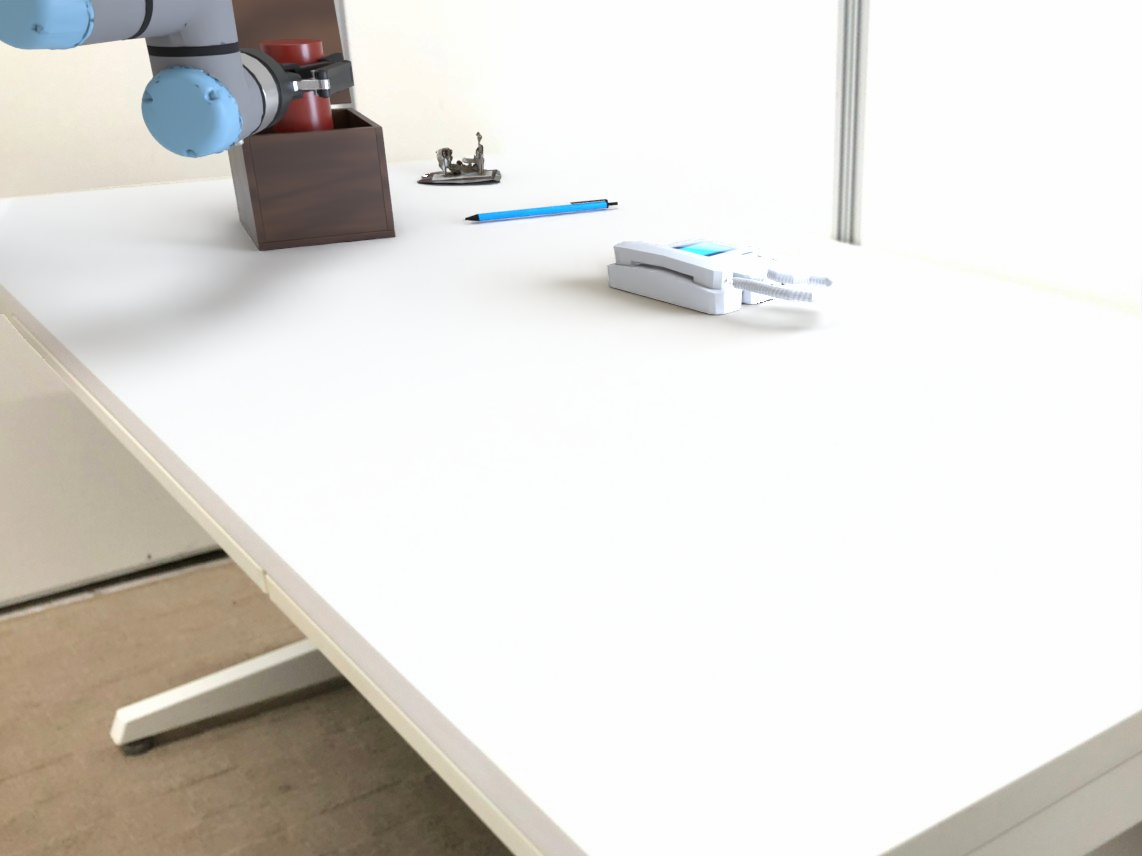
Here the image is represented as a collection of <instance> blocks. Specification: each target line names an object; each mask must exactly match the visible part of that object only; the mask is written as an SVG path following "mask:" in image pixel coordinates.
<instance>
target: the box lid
mask: <svg viewBox="0 0 1142 856" xmlns="http://www.w3.org/2000/svg"><path fill="white" fill-rule="evenodd" d="M232 6H233V12H234V18H235V25H236V31H237V37H238V44H239V48H252V49H256V50H259V51H260V46H259V43H260V42H263V41H270V40H282V39H316V40H321V41H322V47H323V54H324V57H326V56H329V55H331V54H334V53H342V57H343V60H345V55H344V50H343V44H342V39H341V33H340V27H339V21H338V17H337V16H338V15H337V11H336V6H335V0H232ZM352 103H353V101H352V97H351V91H350V87H349V88H346V89H344V90H341V91H340V93H338V92H337V93H333V94H331V97H330V104H331V106H337V105H338V106H340V105H351V104H352Z"/></svg>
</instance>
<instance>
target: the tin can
mask: <svg viewBox="0 0 1142 856" xmlns="http://www.w3.org/2000/svg"><path fill="white" fill-rule="evenodd" d="M259 46H260V51H262V52H264V53H266V54H267V55H269V56H270V57H272V58H273V59H274V60H275V61H276V62H277V63H281V64H283V63H297V64H299V66H302V65H307V64H312V63H318V62H319V59H321V58H324V54H323V47H322V41H321V40H316V39H282V40H270V41H263V42H260V43H259ZM331 109H332V105H331V104H330V97H328V98H322V97H319V96H314V92H313V91H309V92H305V93H304V96H303V98H301V99H297V100H292V101H291V102H290V105H289V108H288V110H287V112H286V114H285V115H284V117H283V118H282V119H281V120H280V121H279V122H277V123H276V124H274V125H272V127H273V131H274V132H277V133H287V132H302V131H316V130H330V129H333V128H334V126H333V119H332V111H331Z"/></svg>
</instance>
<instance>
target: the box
mask: <svg viewBox="0 0 1142 856" xmlns="http://www.w3.org/2000/svg"><path fill="white" fill-rule="evenodd" d="M331 111H332V119H333V126H334V128H333V129H330V130H316V131H302V132H287V133H277V132H274V131H273V127H272V126H270V127H268V128H266V129H264V130H262V131H259V132H257V133H255V134H253V135H251V136H249V137H247V138H246V139H243V140H244V143H243V144H242V145H235V144H234V146H232V147H231V148H230V149H228V150H227V155H228V161H229V166H230V172H231V179H232V184H233V190H234V196H235V201H236V208H237V213H238V219H239V222H240V223H241V225H242V226H243V228H244V229H245V231H246V232H247V233H248V235H249V237H250V238H251V240H252V241H253V243H254V245H255V246H256V247H257V249H258V251H270V250H280V249H288V248H298V247H299V248H300V247H309V246H317V245H319V246H320V245H327V244H338V243H346V242H357V241H366V240H376V239H386V238H395V237H396V229H395V221H394V213H393V211H394V210H393V204H392V195H391V188H390V180H389V170H388V163H387V156H386V155H387V154H386V147H385V139H384V130H383V126H381V125H380V124H379V123H377V122H375V121H374V120H372V119H370V118H369V117H368V116H366V115H365V114H362V112H360V111H358V110H356V109H355V108H353V107H352V106H351V107H337V108H336V107H335V108H331Z"/></svg>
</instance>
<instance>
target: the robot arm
mask: <svg viewBox="0 0 1142 856" xmlns="http://www.w3.org/2000/svg"><path fill="white" fill-rule="evenodd" d="M136 39H144V40H145V45H146V50H147V55H148V59H149V63H150V64H149V65H150V69H151V75H152V77H151V79H150V80H149V81H148V83H147V84H146V85H145V88H144V90H143V92H142V96H141V97H142V98H141V104H140V105H141V107H140V108H141V109H140V110H141V115H142V120H143V122H144V124H145V126H146V128H147V130H148V132H149V133H150V135H151V136H152V137H153V139H154V140H155V141H156V142H157V143H158V144H159V145H160V146H162V147H163V148H164V149H165V150H167V151H169V152H171V153H172V154H174V155H178V156H180V157H184V158H191V159H199V158H203V157H207V156H210V155H214V154H215V155H216V154H222V153H224V152H225V151H228V149H230V148H231V147H232V146H234V144H235V145H242V144H243V143H244V140H243V139H246V138H247V137H249V136H251V135H253V134H255V133H257V132H259V131H262V130H264V129H266V128H268V127H270V126H272V125H274V124H276V123H277V122H279V121H280V120H281V119H282V118H283V117H284V115H285V114H286V112H287V110H288V108H289V105H290V102H291V101H292V100H297V99H301V98H303V96H304V93H305V92H309V91H313V92H314V96H319V97H322V98H328V97H331V94H333V93H337V92H338V93H340V91H341V90H344V89H346V88H349V89H350V88H352V87H354V86H355V81H354V72H353V65H352V61H351V60H349V59H344V60H343V57H342V53H334V54H331V55H329V56H326V57H324V58H321V59H319V62H318V63H312V64H307V65H302V66H299V64H297V63H283V64H281V63H277V62H276V61H275V60H274V59H273V58H272V57H270V56H269V55H267V54H266V53H264V52H262V51H259V50H256V49H252V48H239V44H238V37H237V31H236V25H235V18H234V12H233V6H232V0H0V42H1V43H3V44H5V45H7V46H10V47H12V48H15V49H19V50H25V51H26V50H30V51H32V50H52V51H54V50H55V51H56V50H59V51H60V50H61V51H62V50H70V49H75V48H77V47H82V46H83V47H84V46H88V45H89V46H90V45H97V44H103V43H113V42H118V41H127V40H130V41H131V40H136Z"/></svg>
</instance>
